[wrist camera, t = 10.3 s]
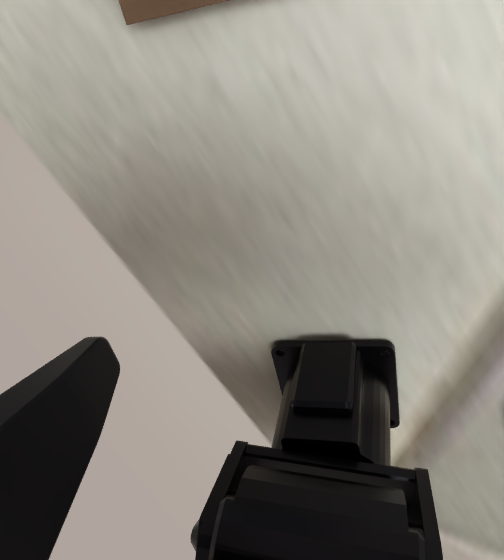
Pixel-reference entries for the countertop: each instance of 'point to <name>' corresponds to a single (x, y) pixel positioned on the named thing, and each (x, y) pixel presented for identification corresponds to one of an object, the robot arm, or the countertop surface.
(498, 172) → the countertop surface
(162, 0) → the roll holder
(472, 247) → the countertop surface
